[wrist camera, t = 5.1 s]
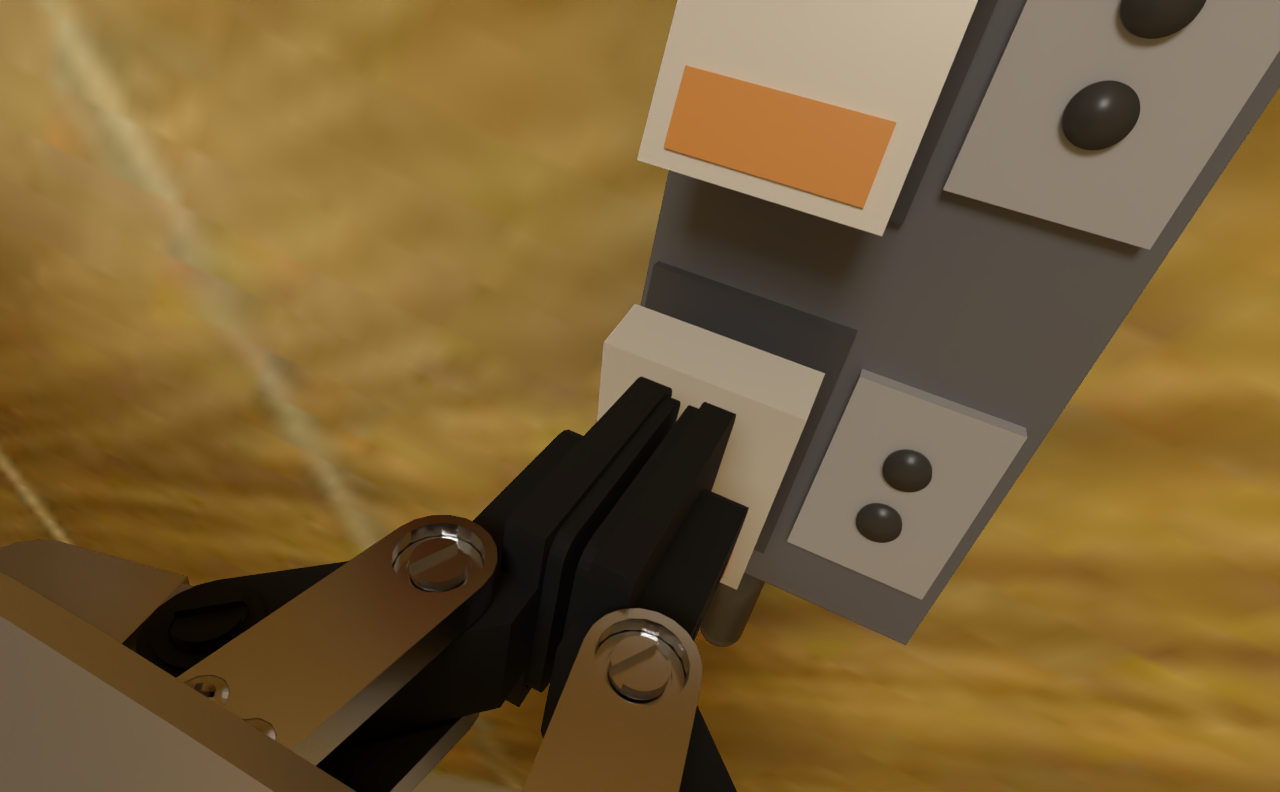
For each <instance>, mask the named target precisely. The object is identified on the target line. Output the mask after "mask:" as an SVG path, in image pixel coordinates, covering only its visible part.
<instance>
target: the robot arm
mask: <svg viewBox="0 0 1280 792" xmlns="http://www.w3.org/2000/svg"><path fill="white" fill-rule="evenodd" d="M671 397H672V388H670V387H667V386H665V385H662V384H660V383H657V382H655V381H652V380H650V379H647V378H645V377H639V378H638V379H637V380H636V381H635V382H634V383H633V384H632V385H631V386H630V387H629V388H628V389H627V390H626V391H625V392H624V393H623V395H622V396H621V397H620V398H619V399H618V400H617V401H616V402H615V403H614V404H613V405H612V406H611V407H610V409H609V410H608V411H607V412H606V413H605V414H604V415H603V416H602V417H601V418H600V419H599V420H598V421H597V423H596V424H595V425H594V426H593V427H592V428H591V429H590V430H589V431H588V432H587V433H586V434H585V435H584V436H582V435H580V434H578V433H575V432H573V431H571V430H564V431H563V432H562V433H560V434H559V435H558V436H557V437H556V438H555V439H554V440H553V441H552V442H551V443H550V444H549V445H548V446H547V447H546V448H545V449H544V450H543V451H542V452H541V453H540V454H539V455H538V456H537V457H536V458H535V459H534V460H533V461H532V462H531V463H530V464H529V465H528V466H527V467H526V468H525V469H524V470H523V471H522V472H521V473H520V474H519V475H518V476H517V477H516V478H515V479H514V480H513V481H512V482H511V483H510V484H509V485H508V486H507V487H506V488H505V489H504V490H503V491H502V492H501V493H500V494H499V495H498V496H497V497H496V498H495V499H494V500H493V501H492V502H491V503H490V504H489V505H488V506H487V507H486V508H485V509H484V510H483V511H482V512H481V513H480V514H479V515H478V516H477V517H476V518H475V519H474V520H473V521H470V520H468V519H466V518H461V517H456V516H452V515H431V516H427V517H423V518H419V519H415V520H413V521H411V522H409V523H407V524H405V525H403V526H401V527H399V528H398V529H396V530H395V531H393V532H392V533H390V534H389V535H387V536H386V537H384V538H383V539H381V540H380V541H378V542H377V543H375V544H374V545H372V546H371V547H369V548H368V549H366V550H365V551H363V552H362V553H360V554H359V555H358V556H356V557H355V558H353V559H352V560H350V561H347V562H340V563H333V564H326V565H319V566H312V567H305V568H298V569H291V570H284V571H277V572H270V573H264V574H257V575H250V576H243V577H236V578H229V579H222V580H216V581H212V582H208V583H204V584H200V585H196V586H191V585H190V584H189V580H188V577H187V576H184V575H180V574H177V573H173V572H169V571H166V570H162V569H158V568H155V567H151V566H147V565H144V564H140V563H136V562H133V561H129V560H125V559H122V558H118V557H114V556H111V555H107V554H103V553H100V552H96V551H92V550H89V549H85V548H81V547H78V546H74V545H70V544H67V543H63V542H59V541H50V540H40V539H39V540H31V541H24V542H17V543H13V544H10V545H7V546H4V547H1V548H0V792H412V791H413V790H414V789H415V788H416V786H417V785H418V784H419V783H420V782H421V781H422V780H423V779H424V778H425V777H426V776H427V775H428V774H429V773H430V772H431V770H432V769H433V768H434V767H435V766H436V765H437V764H438V763H439V762H440V761H441V760H442V759H443V758H444V756H445V755H446V754H447V753H448V752H449V751H450V750H451V749H452V748H453V747H454V746H455V745H456V744H457V743H458V741H459V740H460V739H461V738H462V737H463V736H464V735H465V734H466V733H467V732H468V731H469V730H470V728H471V727H472V725H473V724H474V722H475V721H476V720H477V718H478V716H479V713H480V712H483V711H487V710H491V709H496V708H500V707H501V705H502V704H503V702H504V701H505V700H507V701H509V702H511V703H512V704H514V705H516V706H518V707H519V706H520V705H521V703H522V702H523V700H524V699H525V697H526V695H527V694H528V692H529V691H530V689H531V688H534V689H535V690H537V691H539V692H543V691H544V690H545V688H546V687H547V686H548V684H549V683H550V686H549V691H548V696H547V701H546V706H545V711H544V716H543V722H542V727H541V733H542V737H543V741H542V743H541V746H540V748H539V751H538V753H537V756H536V758H535V761H534V763H533V766H532V768H531V770H530V773H529V775H528V778H527V780H526V783H525V785H524V788H523V790H522V792H737V791H736V789H735V787H734V785H733V782H732V780H731V778H730V776H729V774H728V771H727V769H726V767H725V765H724V763H723V761H722V758H721V756H720V754H719V752H718V750H717V748H716V745H715V743H714V741H713V739H712V737H711V734H710V732H709V730H708V728H707V726H706V724H705V721H704V719H703V717H702V715H701V713H700V711H699V708H698V706H697V703H698V698H699V693H700V688H701V684H702V666H703V663H702V660H701V657H700V654H699V651H698V647H697V646H696V644H695V643H694V640H695V638H696V635H697V633H698V631H699V629H700V626H701V624H702V622H703V619H704V617H705V615H706V613H707V610H708V608H709V606H710V604H711V601H712V599H713V597H714V595H715V592H716V590H717V588H718V585H719V583H720V581H721V578H722V576H723V574H724V571H725V569H726V566H727V564H728V562H729V559H730V557H731V554H732V552H733V549H734V547H735V544H736V542H737V539H738V536H739V534H740V531H741V529H742V526H743V523H744V521H745V518H746V515H747V513H748V510H749V507H746V506H744V505H742V504H739V503H737V502H735V501H732V500H730V499H728V498H725V497H723V496H721V495H719V494H716V493H714V492H712V488H713V485H714V482H715V479H716V476H717V473H718V470H719V467H720V464H721V461H722V458H723V455H724V452H725V449H726V446H727V443H728V440H729V437H730V434H731V431H732V428H733V425H734V422H735V419H736V414H735V413H732V412H730V411H727V410H725V409H722V408H720V407H717V406H715V405H712V404H710V403H707V402H703V404H702V405H701V406H700V408H699V409H698V408H696V407H693V406H691V405H688V406H687V408H686V409H685V410H684V412H683V413H682V414H681V416H680V417H679V419H678V420H677V416H678V413H679V409H680V401H679V400H676V399H674V398H671ZM676 420H677V421H676Z"/></svg>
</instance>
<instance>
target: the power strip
mask: <svg viewBox="0 0 1280 792" xmlns="http://www.w3.org/2000/svg"><path fill="white" fill-rule="evenodd" d="M1279 87H1280V0H978V2H977V4H976V7H975V9H974V12H973V14H972V16H971V19H970V21H969V24H968V26H967V29H966V31H965V34H964V36H963V39H962V41H961V44H960V46H959V48H958V51H957V53H956V56H955V58H954V61H953V63H952V66H951V68H950V71H949V73H948V76H947V78H946V80H945V83H944V85H943V88H942V90H941V93H940V95H939V98H938V100H937V103H936V105H935V107H934V110H933V112H932V115H931V117H930V120H929V122H928V125H927V127H926V130H925V132H924V135H923V137H922V139H921V142H920V144H919V147H918V149H917V152H916V154H915V157H914V159H913V162H912V164H911V167H910V169H909V171H908V174H907V176H906V179H905V181H904V184H903V186H902V189H901V191H900V194H899V196H898V199H897V201H896V203H895V206H894V208H893V211H892V213H891V216H890V218H889V221H888V223H887V226H886V228H885V231H884V233H883V235H882V236H879V235H876V234H873V233H870V232H866V231H863V230H860V229H857V228H854V227H850V226H847V225H844V224H841V223H838V222H834V221H831V220H828V219H825V218H822V217H818V216H815V215H812V214H809V213H805V212H802V211H799V210H796V209H793V208H789V207H786V206H783V205H780V204H777V203H773V202H770V201H767V200H764V199H761V198H757V197H754V196H751V195H748V194H745V193H741V192H738V191H735V190H732V189H729V188H725V187H722V186H719V185H716V184H712V183H709V182H706V181H703V180H700V179H696V178H693V177H690V176H687V175H684V174H680V173H677V172H674V171H671V170H669V172H668V177H667V182H666V187H665V191H664V196H663V201H662V206H661V210H660V215H659V220H658V225H657V229H656V234H655V239H654V244H653V248H652V253H651V258H650V263H649V267H648V272H647V277H646V282H645V286H644V291H643V296H642V301H641V306H643V307H645V308H648V309H651V310H654V311H656V312H659V313H662V314H664V315H667V316H670V317H673V318H675V319H678V320H681V321H684V322H686V323H689V324H692V325H694V326H697V327H700V328H703V329H705V330H708V331H711V332H713V333H716V334H719V335H722V336H724V337H727V338H730V339H733V340H735V341H738V342H741V343H743V344H746V345H749V346H752V347H754V348H757V349H760V350H763V351H765V352H768V353H771V354H773V355H776V356H779V357H782V358H784V359H787V360H790V361H793V362H795V363H798V364H801V365H803V366H806V367H809V368H812V369H814V370H817V371H820V372H822V373H825V375H824V378H823V380H822V383H821V385H820V388H819V391H818V393H817V396H816V398H815V401H814V403H813V406H812V408H811V411H810V414H809V416H808V419H807V421H806V424H805V426H804V429H803V431H802V433H801V436H800V438H799V441H798V443H797V445H796V448H795V450H794V453H793V455H792V458H791V460H790V462H789V465H788V467H787V470H786V472H785V475H784V477H783V479H782V482H781V484H780V487H779V489H778V491H777V494H776V496H775V499H774V501H773V504H772V506H771V508H770V511H769V513H768V516H767V518H766V521H765V523H764V525H763V528H762V530H761V533H760V535H759V537H758V540H757V542H756V545H755V547H754V550H753V552H752V554H751V557H750V559H749V562H748V564H747V567H746V569H745V571H744V574H743V576H742V579H741V581H740V584H739V586H738V588H737V590H736V589H734V588H732V587H729V586H727V585H725V584H723V583H721V582H720V583H719V585H718V588H717V590H716V592H715V595H714V597H713V599H712V601H711V604H710V606H709V608H708V610H707V613H706V615H705V617H704V619H703V622H702V624H701V626H700V630H701V632H702V634H703V636H704V638H705V639H706V640H707V641H708V642H710V643H711V644H713V645H715V646H719V647H726V646H730V645H732V644H734V643H735V642H736V641H737V640H738V639H739V638H740V636H741V635H742V633H743V630H744V628H745V626H746V623H747V621H748V619H749V617H750V614H751V612H752V610H753V608H754V605H755V603H756V601H757V598H758V596H759V594H760V592H761V589H762V587H763V585H764V582H767V583H769V584H771V585H773V586H775V587H778V588H780V589H782V590H784V591H786V592H789V593H791V594H793V595H795V596H798V597H800V598H802V599H804V600H806V601H809V602H811V603H813V604H815V605H818V606H820V607H822V608H824V609H826V610H829V611H831V612H833V613H835V614H837V615H840V616H842V617H844V618H846V619H849V620H851V621H853V622H855V623H857V624H860V625H862V626H864V627H866V628H869V629H871V630H873V631H875V632H877V633H880V634H882V635H884V636H886V637H888V638H891V639H893V640H895V641H897V642H900V643H902V644H904V645H906V644H907V643H908V641H909V640H910V638H911V637H912V635H913V634H914V632H915V631H916V629H917V628H918V626H919V625H920V623H921V622H922V620H923V619H924V617H925V616H926V614H927V613H928V611H929V610H930V608H931V607H932V605H933V604H934V602H935V601H936V599H937V598H938V596H939V595H940V593H941V592H942V590H943V589H944V587H945V586H946V584H947V583H948V581H949V580H950V578H951V577H952V575H953V574H954V572H955V571H956V569H957V568H958V566H959V565H960V563H961V562H962V560H963V559H964V557H965V556H966V554H967V553H968V551H969V550H970V549H971V547H972V546H973V544H974V543H975V541H976V540H977V538H978V537H979V535H980V534H981V532H982V531H983V529H984V528H985V526H986V525H987V523H988V522H989V520H990V519H991V517H992V516H993V514H994V513H995V511H996V510H997V508H998V507H999V505H1000V504H1001V502H1002V501H1003V499H1004V498H1005V496H1006V495H1007V493H1008V492H1009V490H1010V489H1011V487H1012V486H1013V484H1014V483H1015V481H1016V480H1017V478H1018V477H1019V475H1020V474H1021V472H1022V471H1023V469H1024V468H1025V466H1026V465H1027V463H1028V462H1029V460H1030V459H1031V457H1032V456H1033V454H1034V453H1035V451H1036V450H1037V448H1038V447H1039V445H1040V444H1041V442H1042V441H1043V439H1044V438H1045V436H1046V435H1047V433H1048V432H1049V431H1050V429H1051V428H1052V426H1053V425H1054V423H1055V422H1056V420H1057V419H1058V417H1059V416H1060V414H1061V413H1062V411H1063V410H1064V408H1065V407H1066V405H1067V404H1068V402H1069V401H1070V399H1071V398H1072V396H1073V395H1074V393H1075V392H1076V390H1077V389H1078V387H1079V386H1080V384H1081V383H1082V381H1083V380H1084V378H1085V377H1086V375H1087V374H1088V372H1089V371H1090V369H1091V368H1092V366H1093V365H1094V363H1095V362H1096V360H1097V359H1098V357H1099V356H1100V354H1101V353H1102V351H1103V350H1104V348H1105V347H1106V345H1107V344H1108V342H1109V341H1110V339H1111V338H1112V336H1113V335H1114V333H1115V332H1116V330H1117V329H1118V327H1119V326H1120V324H1121V323H1122V321H1123V320H1124V318H1125V317H1126V315H1127V314H1128V313H1129V311H1130V310H1131V308H1132V307H1133V305H1134V304H1135V302H1136V301H1137V299H1138V298H1139V296H1140V295H1141V293H1142V292H1143V290H1144V289H1145V287H1146V286H1147V284H1148V283H1149V281H1150V280H1151V278H1152V277H1153V275H1154V274H1155V272H1156V271H1157V269H1158V268H1159V266H1160V265H1161V263H1162V262H1163V260H1164V259H1165V257H1166V256H1167V254H1168V253H1169V251H1170V250H1171V248H1172V247H1173V245H1174V244H1175V242H1176V241H1177V239H1178V238H1179V236H1180V235H1181V233H1182V232H1183V230H1184V229H1185V227H1186V226H1187V224H1188V223H1189V221H1190V220H1191V218H1192V217H1193V215H1194V214H1195V212H1196V211H1197V209H1198V208H1199V206H1200V205H1201V203H1202V202H1203V200H1204V199H1205V197H1206V196H1207V195H1208V193H1209V192H1210V190H1211V189H1212V187H1213V186H1214V184H1215V183H1216V181H1217V180H1218V178H1219V177H1220V175H1221V174H1222V172H1223V171H1224V169H1225V168H1226V166H1227V165H1228V163H1229V162H1230V160H1231V159H1232V157H1233V156H1234V154H1235V153H1236V151H1237V150H1238V148H1239V147H1240V145H1241V144H1242V142H1243V141H1244V139H1245V138H1246V136H1247V135H1248V133H1249V132H1250V130H1251V129H1252V127H1253V126H1254V124H1255V123H1256V121H1257V120H1258V118H1259V117H1260V115H1261V114H1262V112H1263V111H1264V109H1265V108H1266V106H1267V105H1268V103H1269V102H1270V100H1271V99H1272V97H1273V96H1274V94H1275V93H1276V91H1277V90H1278V88H1279Z"/></svg>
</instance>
